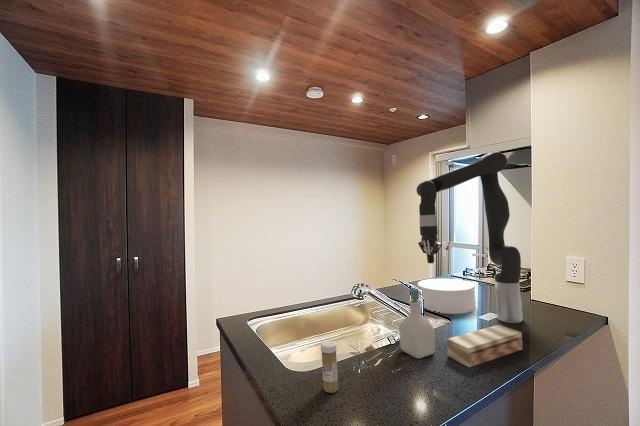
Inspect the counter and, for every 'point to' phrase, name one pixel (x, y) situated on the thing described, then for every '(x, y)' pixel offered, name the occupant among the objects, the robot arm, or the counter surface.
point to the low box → (484, 345)
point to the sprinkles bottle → (329, 366)
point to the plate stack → (448, 295)
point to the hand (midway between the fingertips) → (430, 263)
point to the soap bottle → (416, 331)
